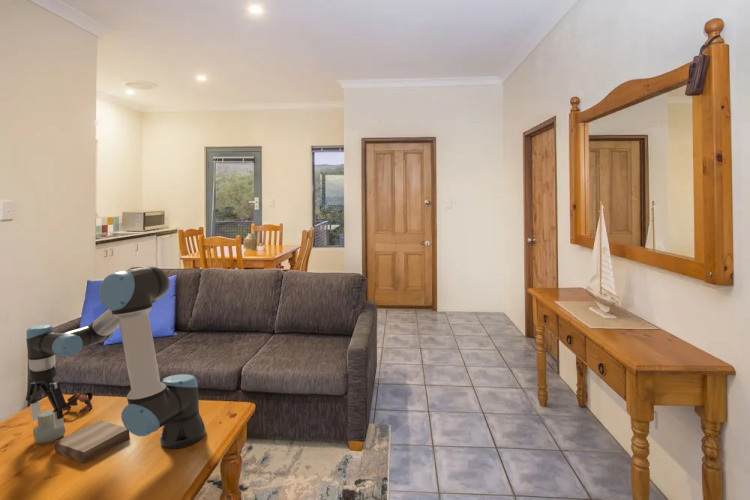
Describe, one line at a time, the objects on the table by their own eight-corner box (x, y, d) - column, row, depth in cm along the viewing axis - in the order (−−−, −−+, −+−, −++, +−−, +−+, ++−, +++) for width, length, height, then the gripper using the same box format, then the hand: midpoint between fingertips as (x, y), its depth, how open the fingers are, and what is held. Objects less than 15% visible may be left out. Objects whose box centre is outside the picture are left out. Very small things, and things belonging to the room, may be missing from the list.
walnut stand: (129, 438, 152) (128, 428, 151) (85, 463, 137) (83, 452, 137) (101, 430, 158) (100, 420, 157) (55, 453, 143) (54, 442, 143)
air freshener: (33, 438, 153) (30, 412, 152) (60, 429, 159) (58, 404, 158) (38, 449, 146) (35, 422, 145) (67, 439, 152) (64, 413, 151)
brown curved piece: (83, 416, 169) (70, 402, 167) (67, 424, 171) (53, 410, 169) (103, 396, 181) (90, 383, 178) (88, 404, 183) (75, 390, 180)
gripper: (75, 369, 148) (80, 424, 150) (34, 359, 158) (38, 411, 160) (52, 376, 141) (57, 435, 144) (10, 366, 151) (16, 420, 153)
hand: (47, 422), depth 152 cm, fingers open, 13 cm apart
